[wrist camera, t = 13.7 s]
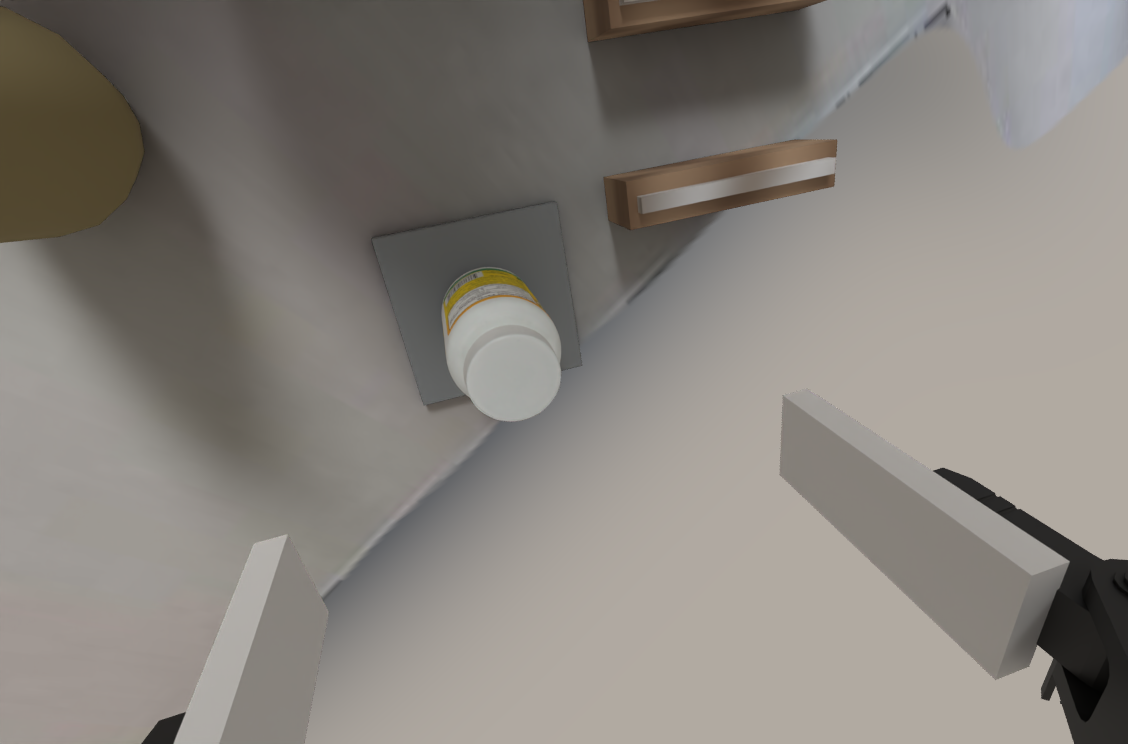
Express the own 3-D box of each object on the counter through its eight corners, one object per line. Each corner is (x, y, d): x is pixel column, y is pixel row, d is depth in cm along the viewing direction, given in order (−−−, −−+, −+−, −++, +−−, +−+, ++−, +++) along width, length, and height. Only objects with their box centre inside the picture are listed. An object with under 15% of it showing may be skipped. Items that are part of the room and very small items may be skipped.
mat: (423, 401, 32) (423, 405, 31) (372, 237, 28) (371, 239, 27) (579, 361, 33) (582, 365, 33) (554, 201, 29) (556, 202, 29)
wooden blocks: (608, 220, 30) (635, 231, 27) (581, -16, 25) (608, -42, 22) (793, 181, 32) (841, 187, 28) (801, -46, 27) (861, -75, 23)
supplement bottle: (448, 257, 28) (459, 307, 20) (542, 273, 30) (591, 326, 21) (434, 349, 30) (440, 431, 22) (524, 360, 32) (562, 440, 23)
